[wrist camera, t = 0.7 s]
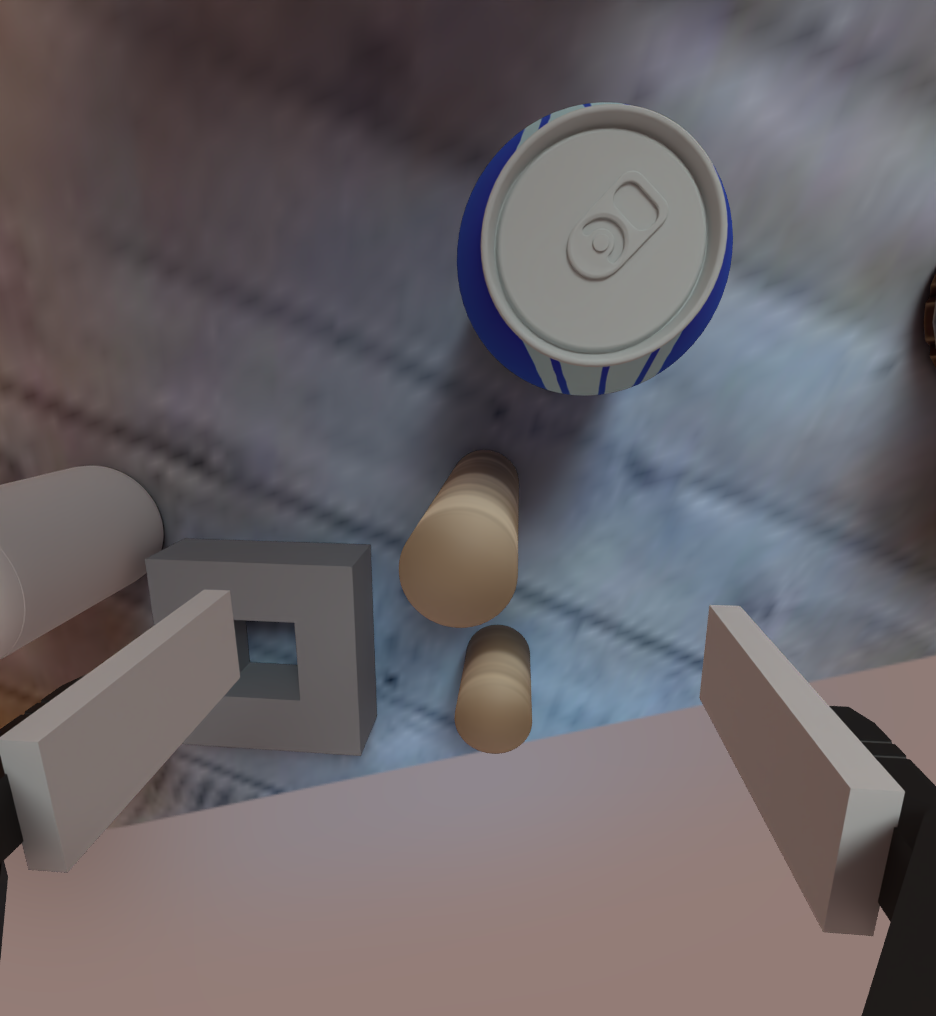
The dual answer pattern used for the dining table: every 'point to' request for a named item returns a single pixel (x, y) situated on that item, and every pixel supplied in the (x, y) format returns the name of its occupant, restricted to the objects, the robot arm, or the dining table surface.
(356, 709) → the socket block
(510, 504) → the tall dowel
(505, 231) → the beer can
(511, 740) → the short dowel
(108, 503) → the pill bottle
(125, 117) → the dining table surface
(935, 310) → the mug
